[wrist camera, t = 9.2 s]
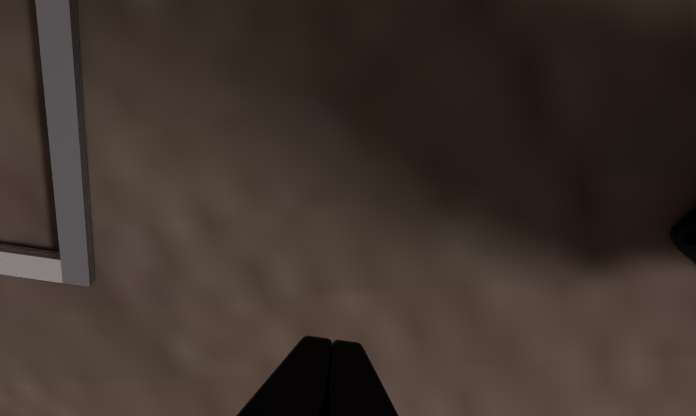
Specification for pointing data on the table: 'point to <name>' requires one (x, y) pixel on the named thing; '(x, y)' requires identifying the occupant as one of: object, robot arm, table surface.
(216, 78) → the table surface
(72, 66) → the steel handle
